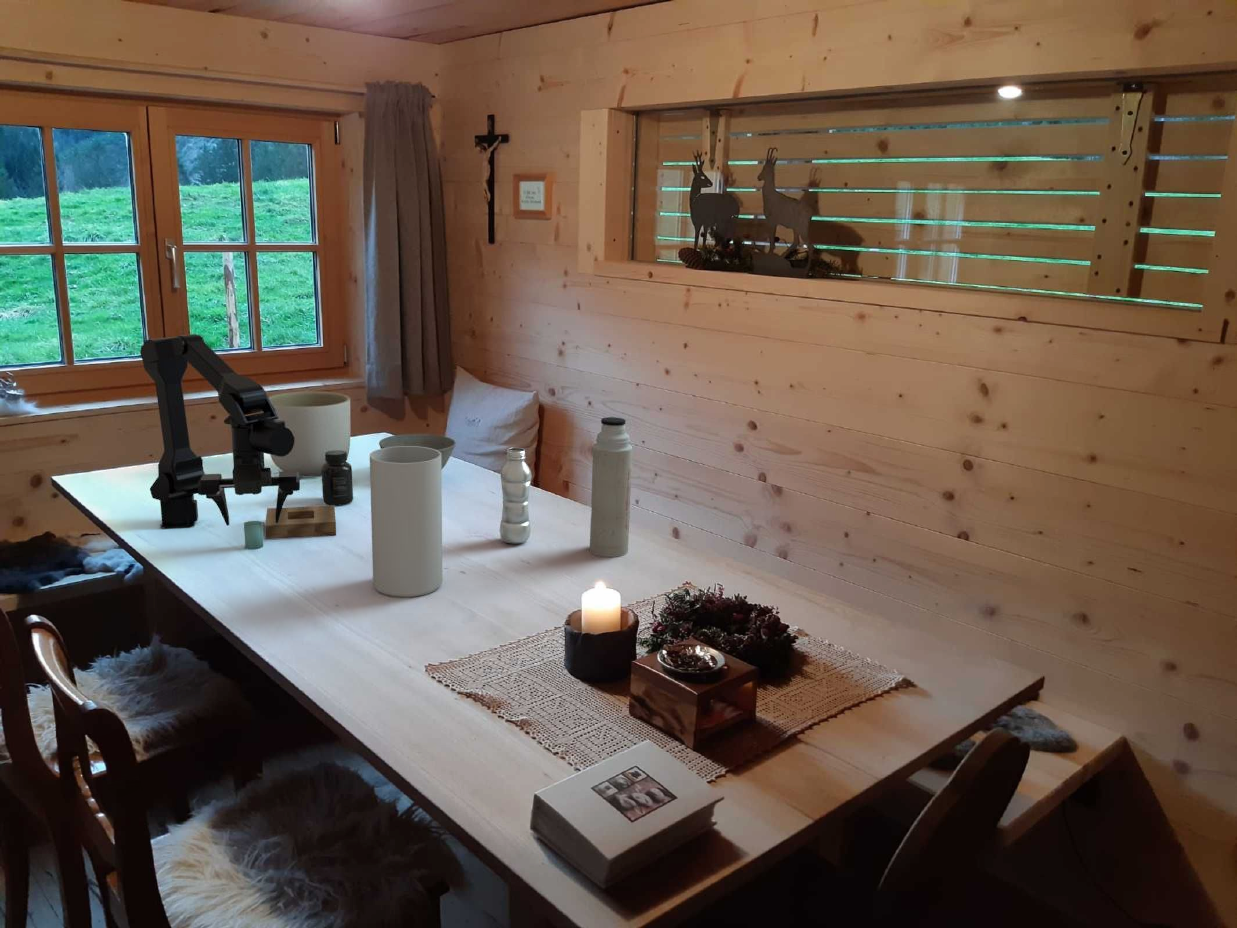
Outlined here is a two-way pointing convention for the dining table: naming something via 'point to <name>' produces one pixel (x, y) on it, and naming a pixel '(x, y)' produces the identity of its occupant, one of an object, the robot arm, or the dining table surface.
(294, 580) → the dining table surface
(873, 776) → the dining table surface
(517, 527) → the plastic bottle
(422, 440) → the bowl
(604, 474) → the thermos bottle
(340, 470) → the supplement bottle
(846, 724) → the dining table surface
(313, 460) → the planter
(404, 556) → the cylinder vase
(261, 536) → the pin
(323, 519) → the bore block
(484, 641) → the dining table surface
